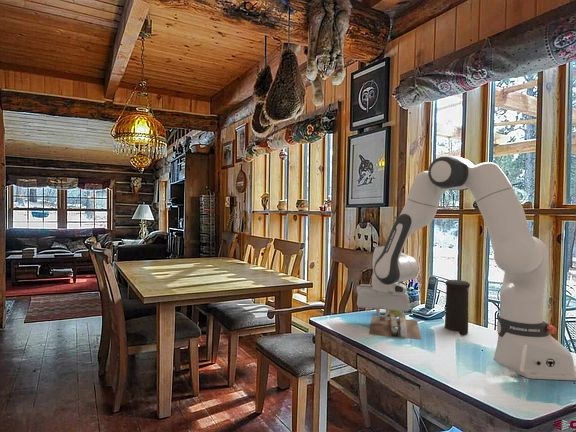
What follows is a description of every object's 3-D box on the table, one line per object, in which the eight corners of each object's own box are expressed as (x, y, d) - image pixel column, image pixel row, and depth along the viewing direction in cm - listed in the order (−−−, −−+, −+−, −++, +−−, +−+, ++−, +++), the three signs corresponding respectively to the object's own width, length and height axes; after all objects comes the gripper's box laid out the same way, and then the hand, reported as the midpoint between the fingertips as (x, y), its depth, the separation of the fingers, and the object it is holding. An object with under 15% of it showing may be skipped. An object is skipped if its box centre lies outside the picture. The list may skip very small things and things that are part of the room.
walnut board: (416, 324, 157) (416, 320, 157) (421, 343, 133) (421, 339, 133) (372, 320, 162) (372, 316, 162) (368, 338, 138) (368, 334, 138)
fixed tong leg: (405, 321, 155) (405, 313, 155) (407, 337, 134) (407, 328, 134) (398, 320, 156) (399, 312, 156) (400, 337, 135) (400, 328, 135)
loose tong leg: (395, 319, 156) (395, 313, 156) (398, 336, 135) (398, 328, 135) (389, 319, 157) (389, 312, 157) (391, 335, 136) (391, 327, 136)
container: (473, 333, 146) (474, 281, 146) (460, 337, 141) (461, 283, 141) (452, 327, 153) (453, 277, 153) (439, 331, 148) (440, 279, 148)
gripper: (356, 284, 151) (355, 319, 151) (410, 288, 145) (409, 325, 146) (357, 282, 157) (356, 315, 157) (409, 285, 151) (408, 320, 152)
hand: (382, 320), depth 151 cm, fingers closed
